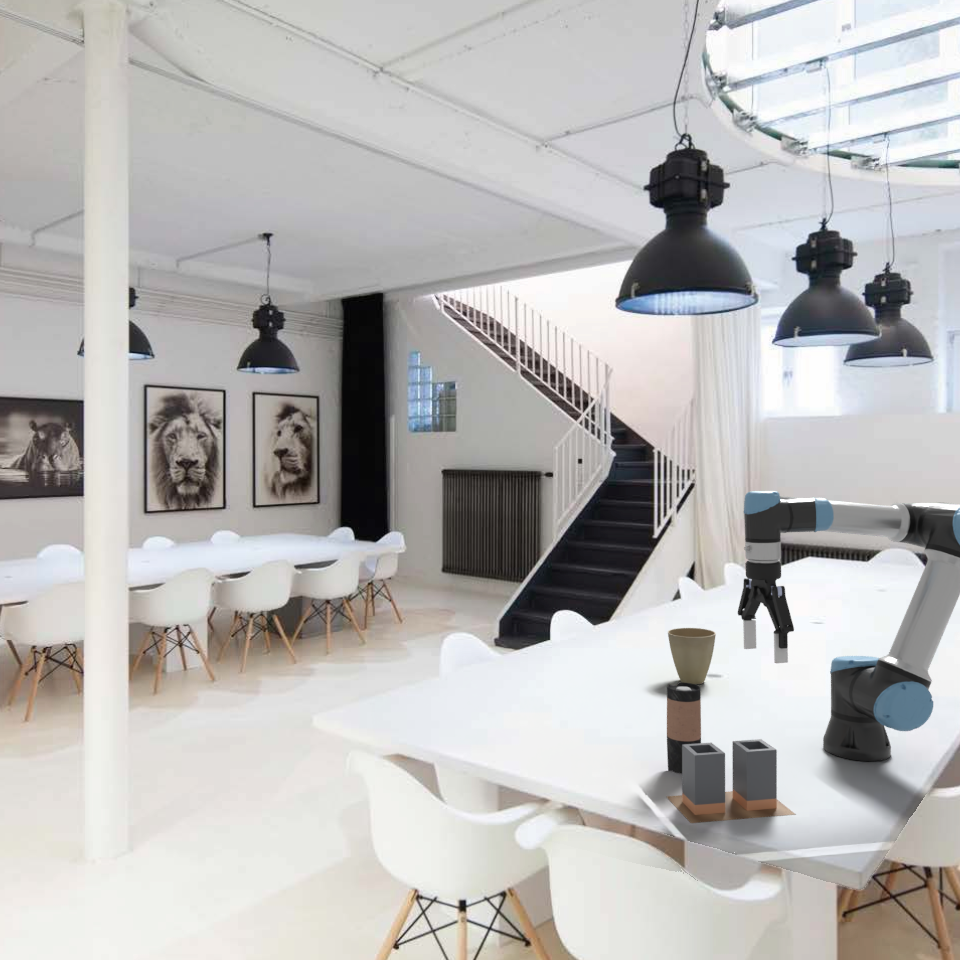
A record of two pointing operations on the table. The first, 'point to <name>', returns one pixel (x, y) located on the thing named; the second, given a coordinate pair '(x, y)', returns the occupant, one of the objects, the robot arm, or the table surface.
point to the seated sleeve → (754, 774)
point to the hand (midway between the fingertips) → (765, 655)
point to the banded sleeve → (703, 778)
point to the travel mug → (682, 721)
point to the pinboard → (728, 810)
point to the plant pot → (692, 653)
